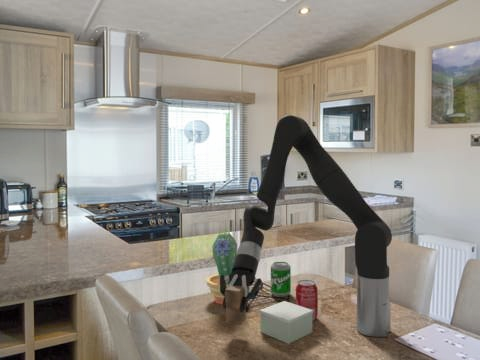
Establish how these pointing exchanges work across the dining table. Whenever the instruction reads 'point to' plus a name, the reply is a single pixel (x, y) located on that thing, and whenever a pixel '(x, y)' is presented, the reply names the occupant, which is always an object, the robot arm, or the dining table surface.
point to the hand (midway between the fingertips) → (233, 309)
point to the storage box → (286, 321)
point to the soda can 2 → (307, 296)
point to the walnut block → (234, 305)
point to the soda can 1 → (280, 279)
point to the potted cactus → (222, 263)
